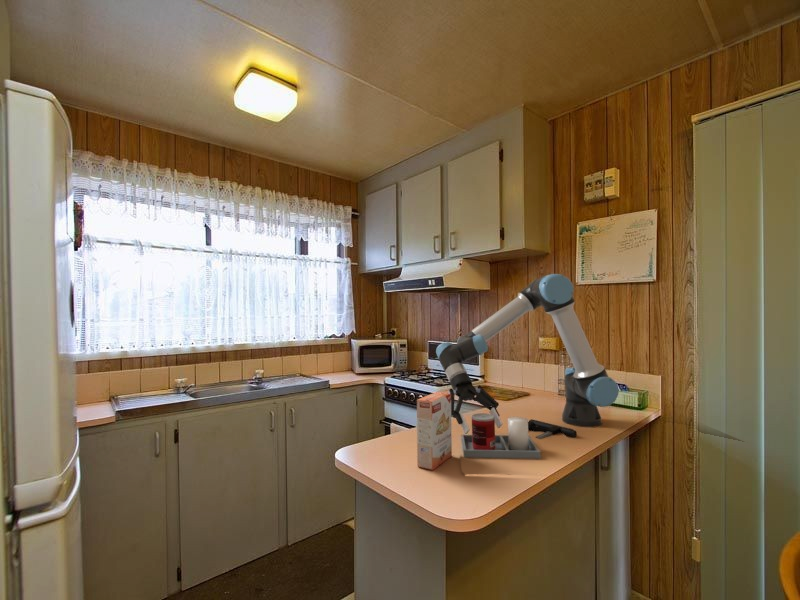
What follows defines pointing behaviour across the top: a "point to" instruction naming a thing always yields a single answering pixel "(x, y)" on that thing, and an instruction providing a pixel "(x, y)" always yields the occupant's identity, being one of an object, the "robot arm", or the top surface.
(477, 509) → the top surface
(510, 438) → the ceramic jar
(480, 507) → the top surface
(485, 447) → the canned food
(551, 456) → the top surface
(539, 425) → the toy submachine gun
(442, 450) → the cracker box
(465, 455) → the caddy
